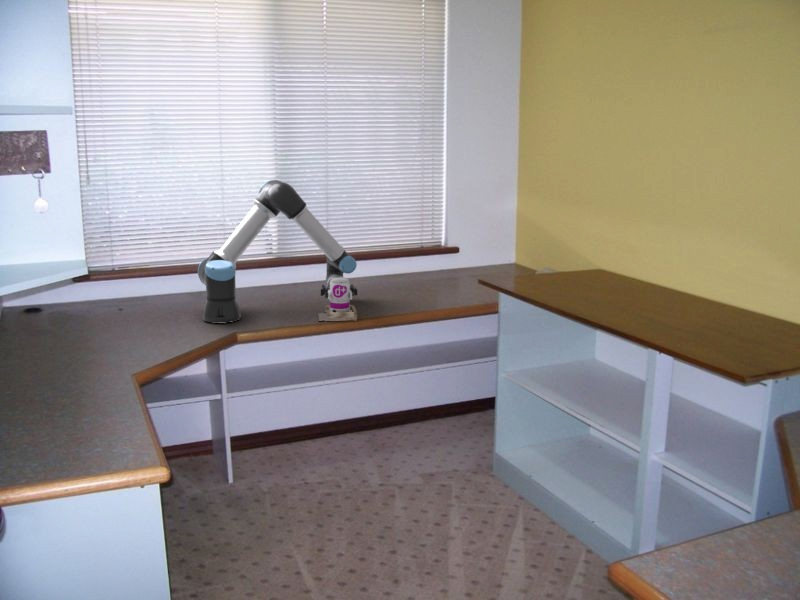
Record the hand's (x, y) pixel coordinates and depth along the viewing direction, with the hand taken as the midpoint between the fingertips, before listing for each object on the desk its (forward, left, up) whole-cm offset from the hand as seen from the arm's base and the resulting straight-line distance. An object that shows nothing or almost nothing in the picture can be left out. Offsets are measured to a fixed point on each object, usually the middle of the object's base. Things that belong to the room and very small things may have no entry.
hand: (340, 296), depth 308 cm
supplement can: (-3, +3, -9) cm, 10 cm away
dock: (-4, +3, -10) cm, 11 cm away
